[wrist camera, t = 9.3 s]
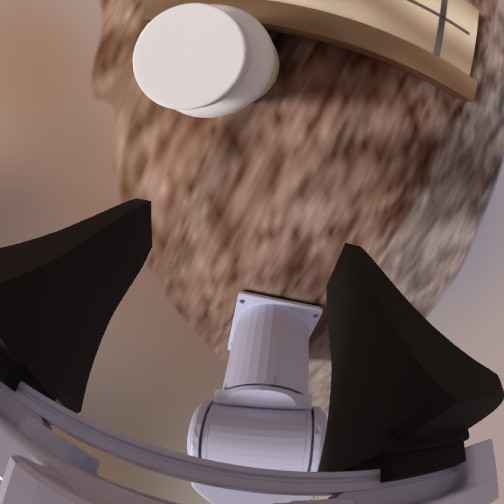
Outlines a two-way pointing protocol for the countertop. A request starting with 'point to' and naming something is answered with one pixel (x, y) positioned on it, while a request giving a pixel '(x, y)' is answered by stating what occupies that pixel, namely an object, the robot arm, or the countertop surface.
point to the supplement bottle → (205, 59)
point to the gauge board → (376, 32)
